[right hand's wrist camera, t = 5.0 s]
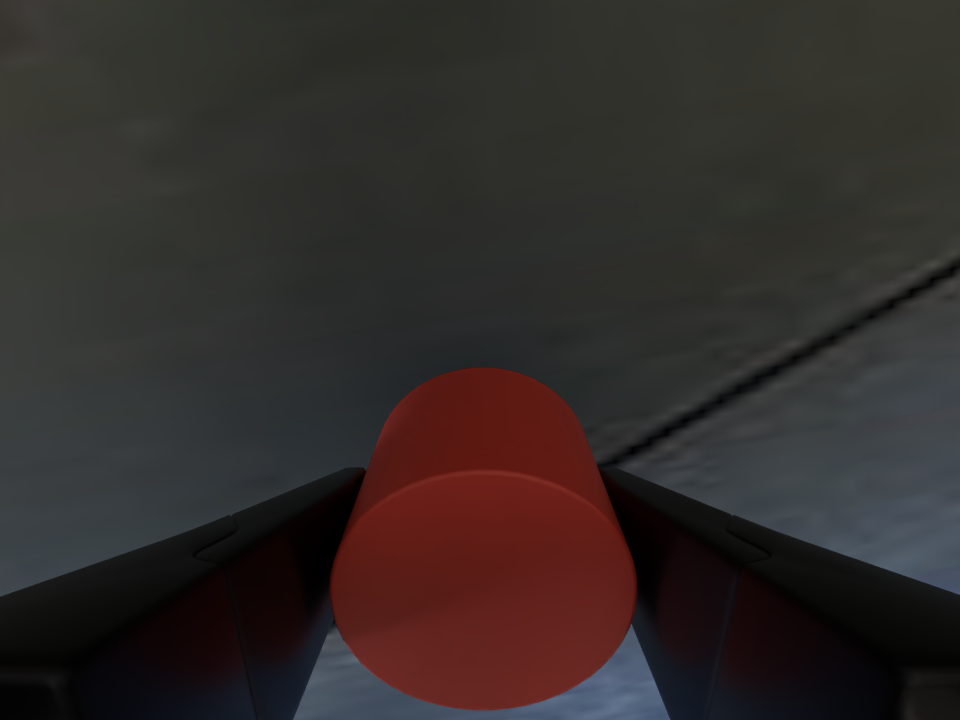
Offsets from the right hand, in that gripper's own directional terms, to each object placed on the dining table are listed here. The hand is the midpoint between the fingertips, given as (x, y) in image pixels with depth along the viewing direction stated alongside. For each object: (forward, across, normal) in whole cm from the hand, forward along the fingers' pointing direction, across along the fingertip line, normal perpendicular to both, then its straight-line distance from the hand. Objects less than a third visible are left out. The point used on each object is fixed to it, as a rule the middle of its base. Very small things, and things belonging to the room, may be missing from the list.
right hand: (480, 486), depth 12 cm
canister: (+1, 0, 0) cm, 1 cm away
